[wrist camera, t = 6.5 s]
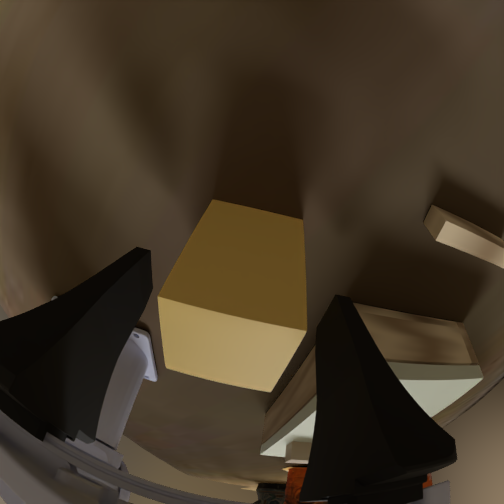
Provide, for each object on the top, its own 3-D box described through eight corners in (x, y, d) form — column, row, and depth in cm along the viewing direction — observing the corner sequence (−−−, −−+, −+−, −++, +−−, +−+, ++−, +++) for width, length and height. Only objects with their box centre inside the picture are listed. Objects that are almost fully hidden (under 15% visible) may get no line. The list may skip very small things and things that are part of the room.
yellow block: (204, 268, 14) (165, 367, 9) (212, 199, 12) (157, 296, 7) (280, 286, 14) (270, 392, 9) (302, 219, 12) (306, 331, 7)
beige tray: (265, 414, 25) (261, 443, 22) (397, 190, 10) (430, 233, 7) (351, 421, 25) (351, 449, 22) (516, 247, 10) (544, 285, 7)
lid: (261, 445, 22) (258, 468, 20) (349, 357, 11) (354, 409, 9) (351, 450, 22) (351, 471, 20) (479, 365, 11) (489, 399, 9)
